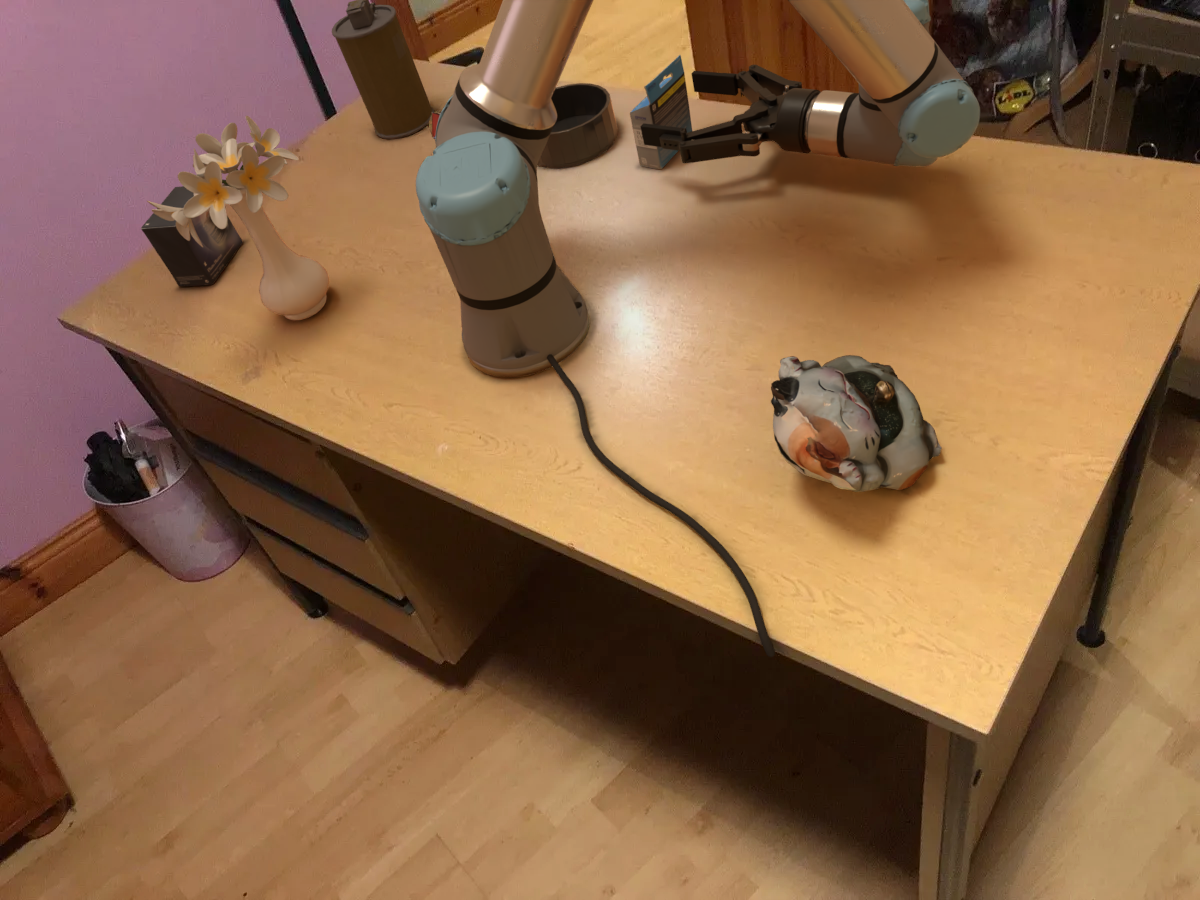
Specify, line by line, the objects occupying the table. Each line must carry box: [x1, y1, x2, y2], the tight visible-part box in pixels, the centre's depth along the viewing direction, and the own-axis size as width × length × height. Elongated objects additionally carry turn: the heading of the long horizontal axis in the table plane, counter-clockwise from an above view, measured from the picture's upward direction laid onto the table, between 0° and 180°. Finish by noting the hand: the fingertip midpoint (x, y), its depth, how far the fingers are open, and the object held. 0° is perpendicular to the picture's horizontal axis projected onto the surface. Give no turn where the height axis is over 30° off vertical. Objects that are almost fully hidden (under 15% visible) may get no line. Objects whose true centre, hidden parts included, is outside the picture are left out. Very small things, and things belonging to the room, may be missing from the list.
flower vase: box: [146, 115, 330, 321], centre depth 118 cm, size 13×18×25 cm
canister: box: [331, 0, 435, 140], centre depth 151 cm, size 11×10×20 cm
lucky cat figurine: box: [770, 354, 943, 493], centre depth 84 cm, size 15×12×14 cm
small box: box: [140, 185, 244, 288], centre depth 137 cm, size 11×6×10 cm, turn 168°
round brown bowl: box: [537, 82, 619, 169], centre depth 139 cm, size 14×14×6 cm
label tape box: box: [629, 54, 693, 170], centre depth 129 cm, size 9×4×12 cm, turn 144°
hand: (669, 107), depth 127 cm, fingers open, 13 cm apart
